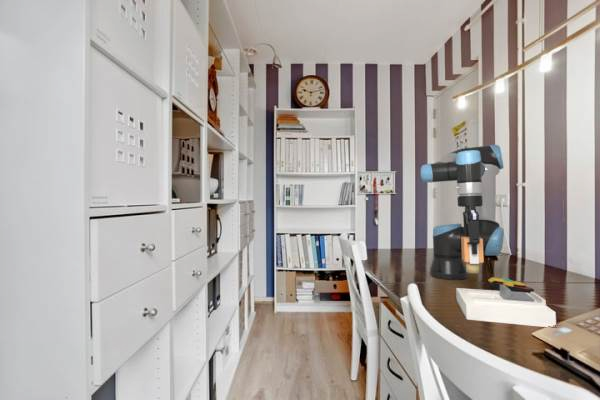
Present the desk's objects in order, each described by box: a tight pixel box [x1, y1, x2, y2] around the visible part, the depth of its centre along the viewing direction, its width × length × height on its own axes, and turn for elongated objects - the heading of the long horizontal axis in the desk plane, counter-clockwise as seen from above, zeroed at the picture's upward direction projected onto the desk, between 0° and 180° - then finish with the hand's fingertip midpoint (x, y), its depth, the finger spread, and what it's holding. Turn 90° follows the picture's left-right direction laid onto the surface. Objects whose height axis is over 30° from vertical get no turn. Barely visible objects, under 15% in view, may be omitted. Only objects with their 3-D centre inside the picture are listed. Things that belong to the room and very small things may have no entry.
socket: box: [455, 287, 557, 328], centre depth 87 cm, size 18×20×6 cm
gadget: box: [485, 276, 535, 294], centre depth 102 cm, size 6×13×6 cm, turn 73°
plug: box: [461, 237, 485, 274], centre depth 103 cm, size 6×6×12 cm
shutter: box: [500, 285, 534, 302], centre depth 85 cm, size 6×6×3 cm
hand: (472, 261), depth 103 cm, fingers closed on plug, 6 cm apart
